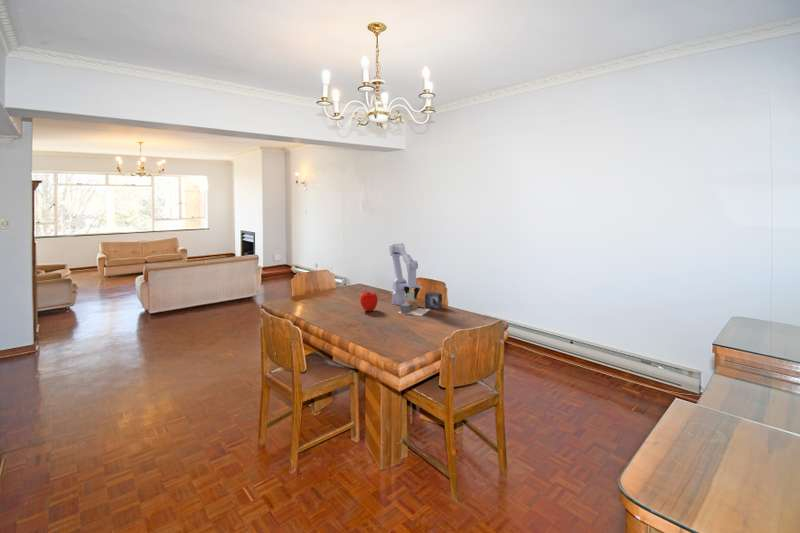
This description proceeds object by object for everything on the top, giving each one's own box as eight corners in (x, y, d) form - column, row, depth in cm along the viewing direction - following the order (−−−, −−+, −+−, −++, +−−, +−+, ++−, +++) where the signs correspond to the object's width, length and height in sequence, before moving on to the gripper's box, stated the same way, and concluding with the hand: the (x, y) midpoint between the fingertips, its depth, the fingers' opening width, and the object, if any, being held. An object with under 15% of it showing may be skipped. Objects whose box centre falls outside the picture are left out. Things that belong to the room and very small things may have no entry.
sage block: (406, 300, 271) (406, 292, 270) (409, 298, 275) (409, 291, 274) (413, 300, 269) (413, 293, 268) (416, 299, 273) (416, 292, 272)
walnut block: (404, 309, 272) (404, 304, 271) (408, 307, 278) (408, 301, 278) (414, 311, 269) (414, 305, 268) (417, 308, 275) (418, 302, 275)
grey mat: (397, 313, 265) (397, 312, 265) (407, 307, 280) (407, 306, 280) (421, 316, 259) (421, 315, 258) (430, 310, 273) (430, 309, 273)
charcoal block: (400, 312, 266) (400, 305, 265) (403, 310, 270) (403, 303, 269) (407, 313, 264) (407, 306, 263) (410, 311, 268) (410, 304, 267)
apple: (361, 314, 263) (360, 294, 261) (359, 309, 275) (359, 290, 272) (378, 313, 266) (378, 293, 263) (376, 308, 277) (376, 289, 275)
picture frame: (424, 308, 278) (424, 293, 276) (428, 305, 284) (428, 291, 282) (438, 310, 273) (438, 295, 272) (442, 307, 279) (442, 293, 277)
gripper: (399, 278, 269) (399, 298, 271) (419, 280, 263) (419, 300, 265) (403, 277, 275) (403, 296, 278) (423, 278, 269) (423, 298, 272)
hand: (411, 298), depth 272 cm, fingers closed on sage block, 5 cm apart
